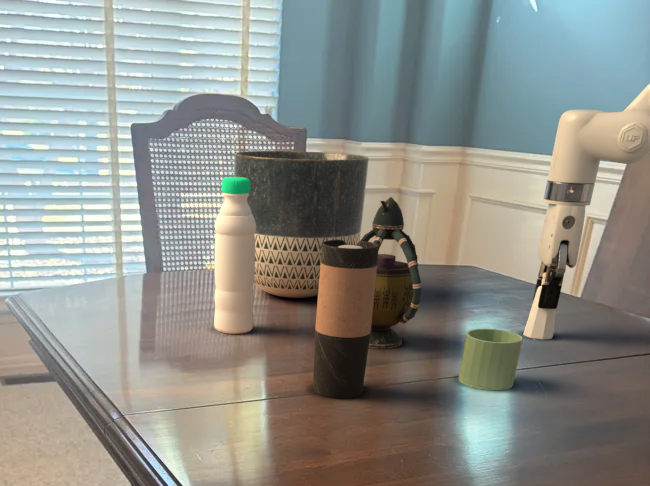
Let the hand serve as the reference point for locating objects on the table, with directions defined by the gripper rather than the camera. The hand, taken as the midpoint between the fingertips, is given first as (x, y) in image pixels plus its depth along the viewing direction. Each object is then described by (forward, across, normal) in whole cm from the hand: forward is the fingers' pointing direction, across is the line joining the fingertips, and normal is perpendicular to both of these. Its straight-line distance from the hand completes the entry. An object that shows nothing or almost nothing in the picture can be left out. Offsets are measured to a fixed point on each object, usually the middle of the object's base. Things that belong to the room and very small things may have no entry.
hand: (544, 304), depth 138 cm
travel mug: (+6, -39, +35) cm, 53 cm away
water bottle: (+6, -9, +55) cm, 56 cm away
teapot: (+6, -7, +30) cm, 31 cm away
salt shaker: (+6, 0, 0) cm, 6 cm away
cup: (+6, -30, +13) cm, 33 cm away
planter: (+6, +23, +47) cm, 53 cm away
